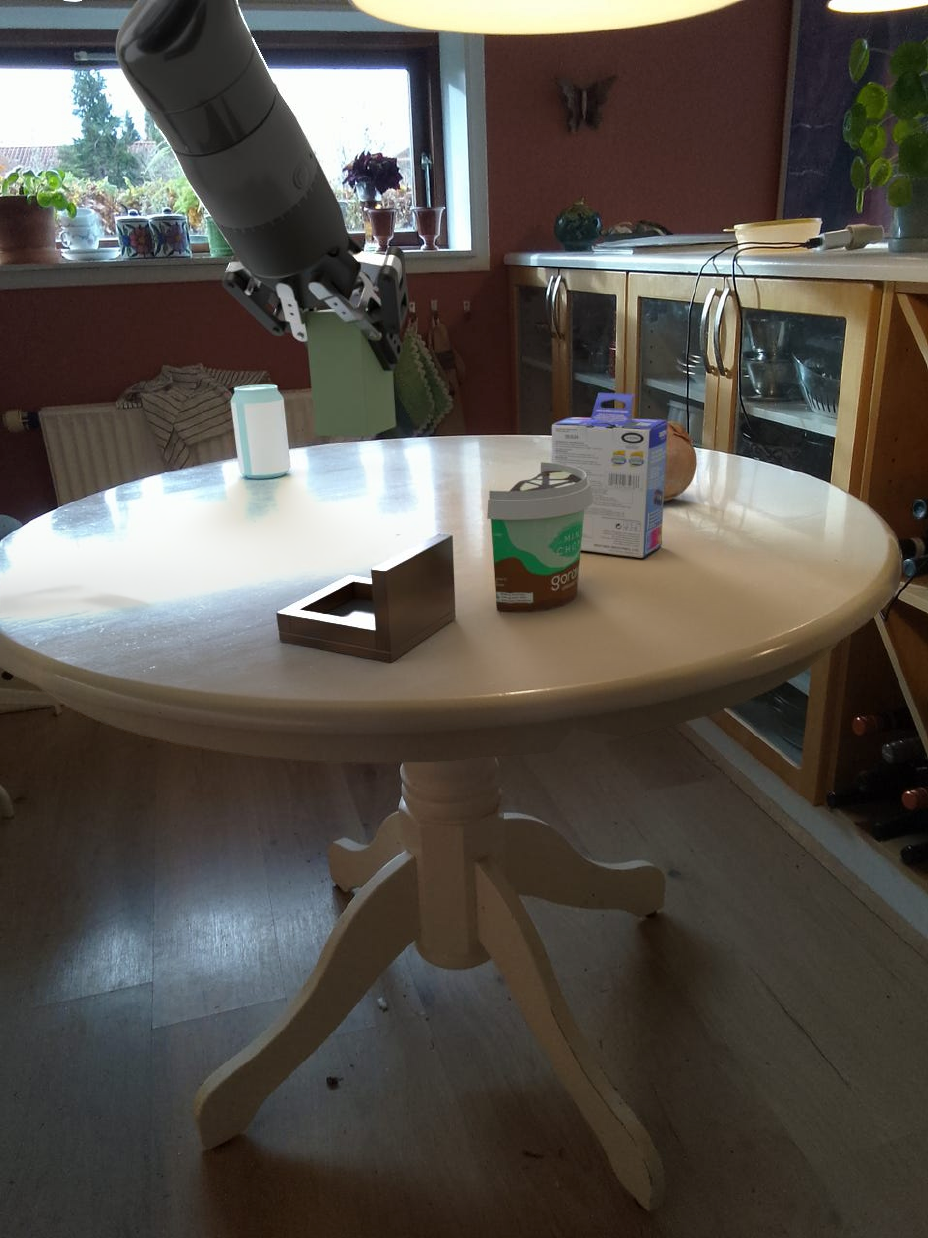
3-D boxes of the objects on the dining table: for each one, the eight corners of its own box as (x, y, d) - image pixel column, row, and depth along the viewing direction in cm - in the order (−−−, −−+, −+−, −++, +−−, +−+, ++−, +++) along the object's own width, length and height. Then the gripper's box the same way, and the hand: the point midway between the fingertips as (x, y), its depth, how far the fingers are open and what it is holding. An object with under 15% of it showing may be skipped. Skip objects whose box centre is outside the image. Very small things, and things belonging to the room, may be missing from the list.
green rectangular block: (315, 435, 68) (304, 311, 65) (346, 425, 73) (337, 308, 70) (368, 437, 67) (359, 310, 64) (396, 426, 71) (389, 307, 68)
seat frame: (279, 641, 67) (269, 554, 65) (351, 601, 75) (345, 522, 72) (391, 663, 63) (385, 571, 60) (456, 618, 70) (452, 535, 68)
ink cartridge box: (664, 545, 87) (672, 393, 82) (646, 560, 83) (653, 401, 77) (570, 534, 92) (572, 389, 86) (548, 548, 87) (548, 397, 82)
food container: (563, 626, 68) (564, 498, 64) (489, 616, 70) (486, 492, 67) (609, 577, 78) (612, 464, 75) (543, 570, 81) (543, 460, 77)
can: (264, 467, 129) (254, 382, 125) (301, 471, 126) (292, 384, 121) (229, 477, 124) (217, 388, 119) (266, 481, 120) (256, 390, 116)
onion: (680, 521, 106) (724, 445, 103) (652, 518, 98) (698, 435, 95) (617, 484, 110) (656, 409, 107) (584, 478, 102) (626, 397, 99)
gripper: (379, 124, 54) (459, 322, 69) (183, 144, 59) (297, 325, 73) (345, 218, 51) (435, 403, 66) (143, 230, 56) (269, 399, 71)
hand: (362, 361), depth 70 cm, fingers closed on green rectangular block, 4 cm apart
